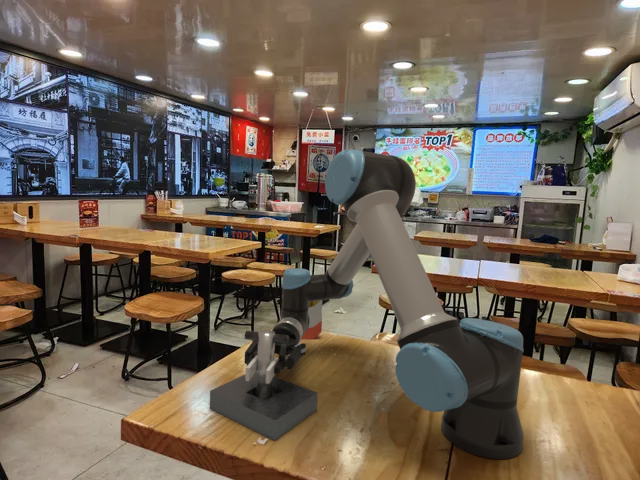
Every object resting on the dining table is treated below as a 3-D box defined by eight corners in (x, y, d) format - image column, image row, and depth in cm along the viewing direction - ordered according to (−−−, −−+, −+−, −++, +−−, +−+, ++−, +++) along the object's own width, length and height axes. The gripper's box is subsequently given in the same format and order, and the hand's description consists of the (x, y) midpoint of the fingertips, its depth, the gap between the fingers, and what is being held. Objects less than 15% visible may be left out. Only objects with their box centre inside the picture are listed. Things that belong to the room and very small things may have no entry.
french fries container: (321, 340, 129) (324, 285, 128) (287, 339, 128) (290, 284, 126) (319, 335, 134) (322, 282, 132) (287, 334, 133) (289, 281, 131)
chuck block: (316, 410, 86) (317, 392, 86) (274, 440, 74) (275, 420, 74) (255, 385, 96) (255, 369, 96) (209, 408, 84) (210, 390, 84)
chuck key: (286, 399, 86) (289, 332, 85) (282, 407, 83) (285, 337, 81) (246, 393, 88) (249, 327, 86) (240, 401, 84) (243, 333, 83)
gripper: (316, 354, 101) (297, 399, 78) (254, 346, 104) (217, 388, 81) (318, 325, 100) (299, 362, 77) (255, 318, 103) (218, 352, 80)
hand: (257, 375), depth 79 cm, fingers closed on chuck key, 3 cm apart
